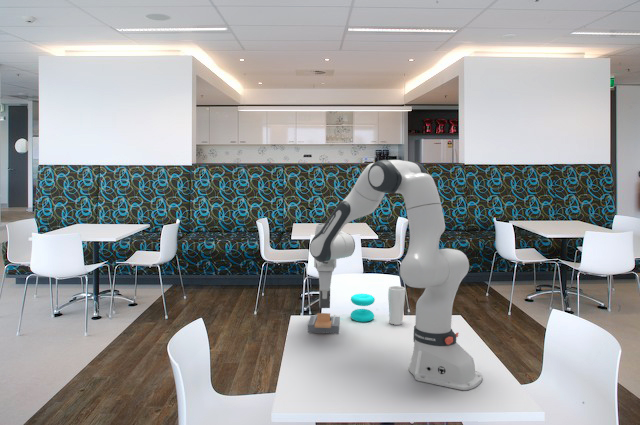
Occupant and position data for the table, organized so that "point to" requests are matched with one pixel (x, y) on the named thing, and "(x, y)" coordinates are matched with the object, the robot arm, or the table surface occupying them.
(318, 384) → the table surface
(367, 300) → the donuts
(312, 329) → the socket plate
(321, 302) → the plug
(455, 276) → the robot arm
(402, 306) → the drinking glass
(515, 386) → the table surface
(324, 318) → the block
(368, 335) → the table surface
